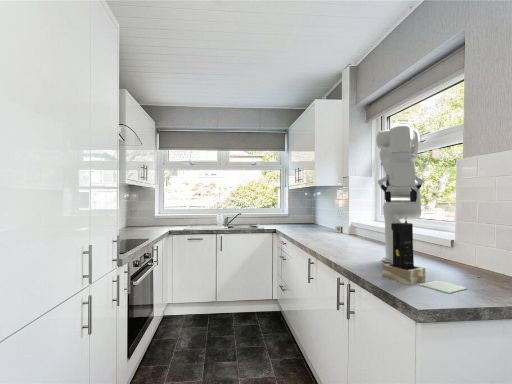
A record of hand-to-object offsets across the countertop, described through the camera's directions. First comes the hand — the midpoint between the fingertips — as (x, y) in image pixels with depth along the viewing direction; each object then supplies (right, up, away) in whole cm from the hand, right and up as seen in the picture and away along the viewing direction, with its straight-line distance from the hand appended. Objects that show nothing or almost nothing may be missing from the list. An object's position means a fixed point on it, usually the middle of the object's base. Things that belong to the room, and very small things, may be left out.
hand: (400, 201), depth 114 cm
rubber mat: (+13, -31, -6) cm, 34 cm away
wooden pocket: (+4, -32, +5) cm, 32 cm away
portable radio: (+3, -32, +5) cm, 32 cm away
